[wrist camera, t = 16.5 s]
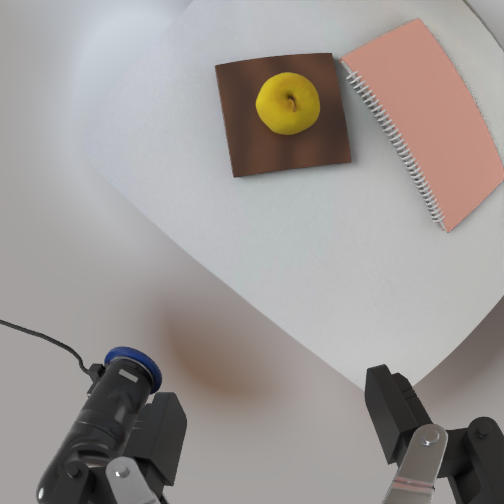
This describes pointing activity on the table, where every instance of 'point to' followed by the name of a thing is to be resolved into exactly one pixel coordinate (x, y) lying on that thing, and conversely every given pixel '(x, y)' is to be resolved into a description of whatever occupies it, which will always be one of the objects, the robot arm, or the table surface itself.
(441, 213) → the notebook
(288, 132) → the apple
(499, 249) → the table surface
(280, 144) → the cutting board
